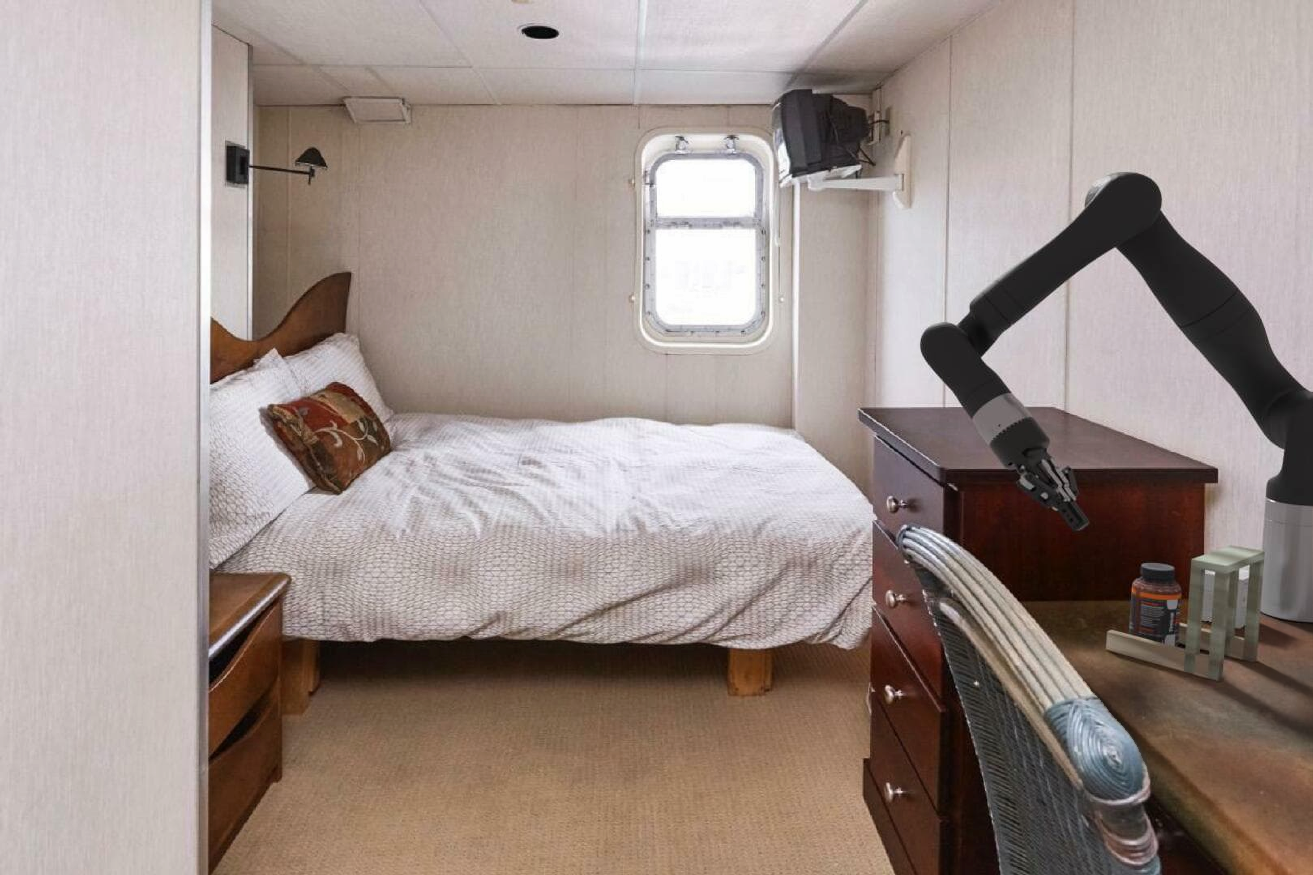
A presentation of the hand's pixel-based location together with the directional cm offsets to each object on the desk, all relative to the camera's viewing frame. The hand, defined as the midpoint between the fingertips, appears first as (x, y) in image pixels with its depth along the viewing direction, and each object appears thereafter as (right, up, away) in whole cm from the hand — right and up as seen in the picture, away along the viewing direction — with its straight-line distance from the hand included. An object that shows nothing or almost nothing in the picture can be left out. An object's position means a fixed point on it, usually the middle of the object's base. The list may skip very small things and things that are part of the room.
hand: (1082, 527), depth 133 cm
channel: (+9, -16, -9) cm, 20 cm away
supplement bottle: (+7, -16, -6) cm, 18 cm away
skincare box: (+23, -14, +5) cm, 28 cm away
